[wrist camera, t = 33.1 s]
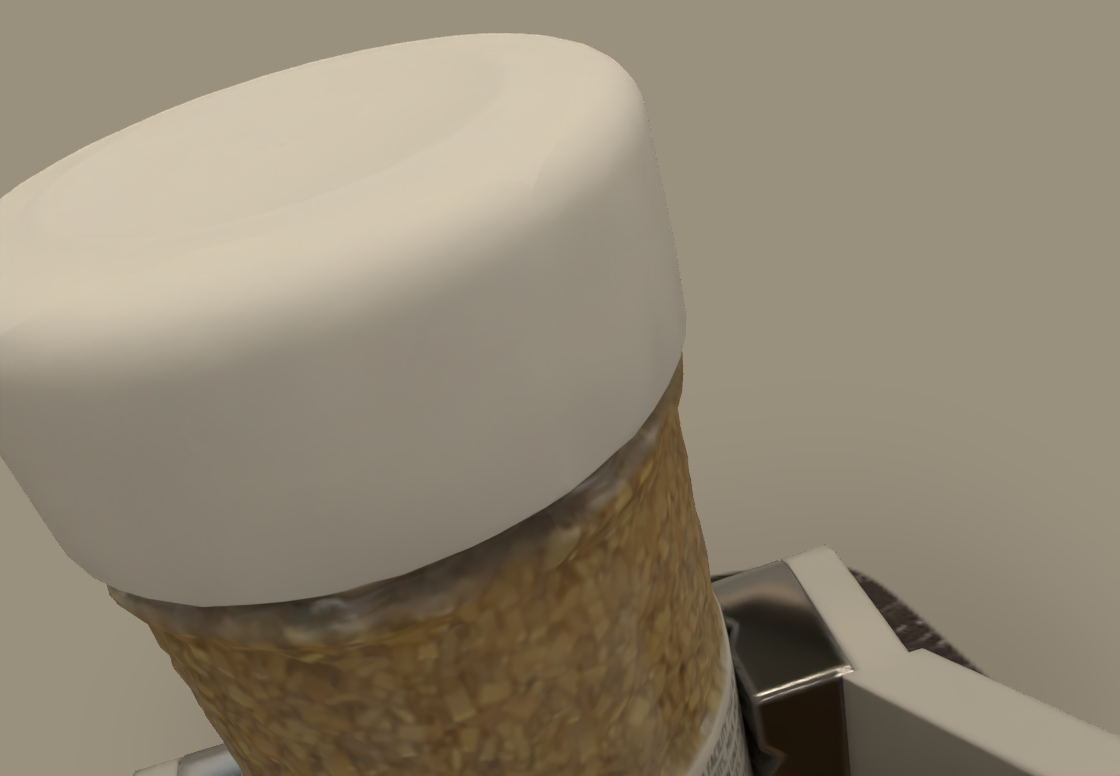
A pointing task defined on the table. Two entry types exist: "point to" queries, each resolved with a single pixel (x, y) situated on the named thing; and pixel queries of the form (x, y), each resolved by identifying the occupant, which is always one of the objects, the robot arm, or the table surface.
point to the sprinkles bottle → (382, 414)
